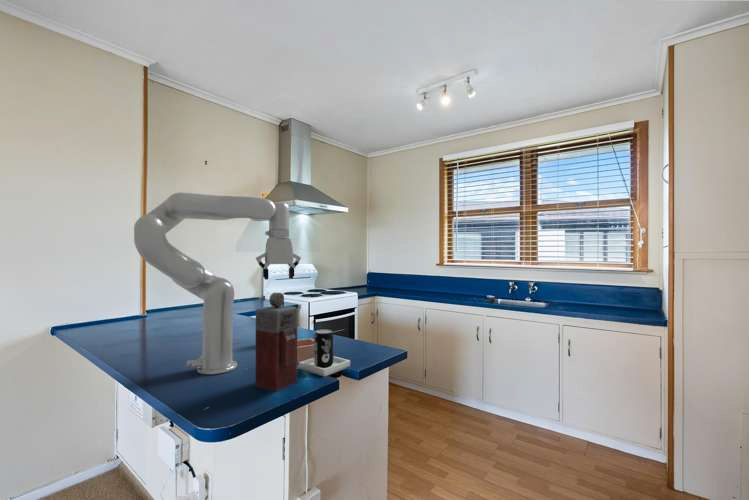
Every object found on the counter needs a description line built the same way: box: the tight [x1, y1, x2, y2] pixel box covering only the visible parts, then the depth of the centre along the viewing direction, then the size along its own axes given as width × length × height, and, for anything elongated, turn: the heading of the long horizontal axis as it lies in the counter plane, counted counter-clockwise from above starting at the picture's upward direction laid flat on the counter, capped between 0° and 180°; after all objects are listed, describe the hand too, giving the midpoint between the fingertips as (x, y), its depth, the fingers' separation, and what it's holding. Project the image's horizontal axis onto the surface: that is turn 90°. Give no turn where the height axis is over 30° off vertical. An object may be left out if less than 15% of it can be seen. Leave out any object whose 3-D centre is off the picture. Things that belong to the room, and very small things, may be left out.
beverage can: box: [313, 328, 334, 368], centre depth 120 cm, size 7×7×12 cm
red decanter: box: [254, 292, 298, 392], centre depth 105 cm, size 9×11×28 cm
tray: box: [298, 355, 351, 378], centre depth 120 cm, size 13×13×2 cm
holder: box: [297, 337, 314, 364], centre depth 133 cm, size 11×11×6 cm
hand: (278, 278), depth 133 cm, fingers open, 9 cm apart
